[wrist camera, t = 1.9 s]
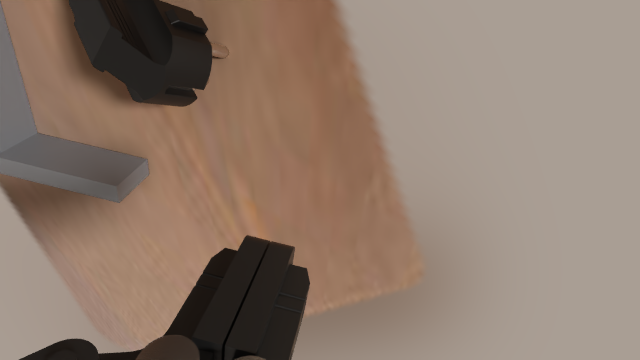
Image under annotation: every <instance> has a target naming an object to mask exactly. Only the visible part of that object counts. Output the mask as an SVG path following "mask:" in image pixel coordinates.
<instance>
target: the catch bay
mask: <svg viewBox="0 0 640 360" xmlns="http://www.w3.org/2000/svg"><path fill="white" fill-rule="evenodd" d="M0 173H1V174H5V175H9V176H13V177H17V178H21V179H25V180H29V181H33V182H37V183H41V184H45V185H49V186H53V187H57V188H61V189H65V190H69V191H73V192H77V193H81V194H85V195H89V196H93V197H97V198H101V199H105V200H109V201H113V202H118V203H120V202H121V201H122V200H123V199H124V198H125V197H126V196H127V195H128V194H129V193H130V192H131V191H132V190H133V189H134V188H136V187H137V186H138V185H139V184H140V183H141V182H142V181H143V180H144V179H145V178H146V177H147V176H148V175H149V170H148V161H147V159H144V158H140V157H136V156H132V155H128V154H124V153H119V152H115V151H111V150H107V149H103V148H98V147H94V146H90V145H86V144H82V143H77V142H73V141H69V140H65V139H61V138H56V137H52V136H48V135H44V134H40V133H37V130H36V126H35V123H34V119H33V116H32V112H31V109H30V105H29V101H28V98H27V94H26V91H25V87H24V84H23V80H22V77H21V73H20V70H19V66H18V63H17V59H16V56H15V52H14V49H13V45H12V42H11V38H10V34H9V31H8V27H7V24H6V20H5V17H4V13H3V10H2V6H1V3H0Z"/></svg>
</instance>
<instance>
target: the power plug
mask: <svg viewBox="0 0 640 360" xmlns="http://www.w3.org/2000/svg"><path fill="white" fill-rule="evenodd" d="M69 5H70V7H71V9H72V11H73V14H74V16H75V17H74V18H75V22H74V25H75V27H76V30H77V32H78V34H79V36H80V39H81V41H82V43H83V45H84V48H85V50H86V52H87V54H88V56H89V59H90V61H91V63H92V65H93V66H94V67H95V68H96V69H98V70H99V71H101V72H104V70H106V71H108V72H109V73H111V74H112V75H113V76H115V77H116V78H118V79H119V80H121V81H122V82H123V83H125V84H126V86H127V89H128V91H129V93H130V95H131V97H132V99H133V100H134V101H136V102H141V103H151V104H161V105H170V106H180V107H182V106H187V105H190V104H191V103H193V102H194V101H195V100H196V99H197V96H196V94H195V92H194V91H195V90H196V89H201V90H204V88H205V86H206V85H207V84H208V83H209V75H210V71H211V65H212V56H216V57H220V58H226V57H228V55H229V50H228V48H227V47H225V46H222V45H219V44H215V43H212V42H209V40H208V38H207V37H206V35H205V33H206V32H207V30H208V28H207V26H206V25H205V23H204V21H203V20H202V18H199V17H196V16H194V14H193V12H192V11H189V10H186V9H183V8H180V7H177V6H174V5H171V4H168V3H165V2H162V1H160V0H69Z"/></svg>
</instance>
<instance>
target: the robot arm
mask: <svg viewBox="0 0 640 360" xmlns="http://www.w3.org/2000/svg"><path fill="white" fill-rule="evenodd" d="M294 251H295V247H293V246H289V245H285V244H281V243H277V242H273V241H272V242H270V241H268V240H264V239H260V238H256V237H252V236H248V235H247V236H246V237H245V238H244V240H243V242H242V244H241V246H240V247H239V249H238V251H236V250H232V249H228V248H224V249H223V250H222V251H220V252H219V253H218V254H216V255H215V256H214V257H212V258H211V260H210V261H209V263H208V265H207V266H206V268H205V270H204V271H203V274H202V275H201V276H200V278H199V279H198V281H197V283H196V286H194V288H193V289H192V291H191V293H190V294H189V296H188V298H187V299H186V301H185V303H184V304H183V306H182V308H181V309H180V311H179V313H178V314H177V316H176V318H175V319H174V321H173V322H172V324H171V326H170V327H169V329H168V330H167V332H166V333H165V334H164V335H163V336H162V337H160V338H158V339H156V340H154V341H152V342H151V343H149V344H148V345H147V346H146V347H145V348H144V349H141V350H137V351H132V352H121V353H104V354H103V353H102V354H98V351H97V349H96V347H95V346H94V345H93V344H92V343H90V342H89V341H86V340H83V339H67V340H63V341H60V342H57V343H55V344H52V345H50V346H48V347H46V348H44V349H41V350H39V351H37V352H35V353H32V354H30V355H28V356H26V357H24V358H21V359H19V360H291V359H292V355H293V352H294V348H295V344H296V340H297V337H298V333H299V329H300V326H301V322H302V318H303V314H304V310H305V305H306V300H307V295H308V290H309V286H310V281H309V277H308V272H307V268H303V267H299V266H295V265H292V264H293V258H294Z"/></svg>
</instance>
